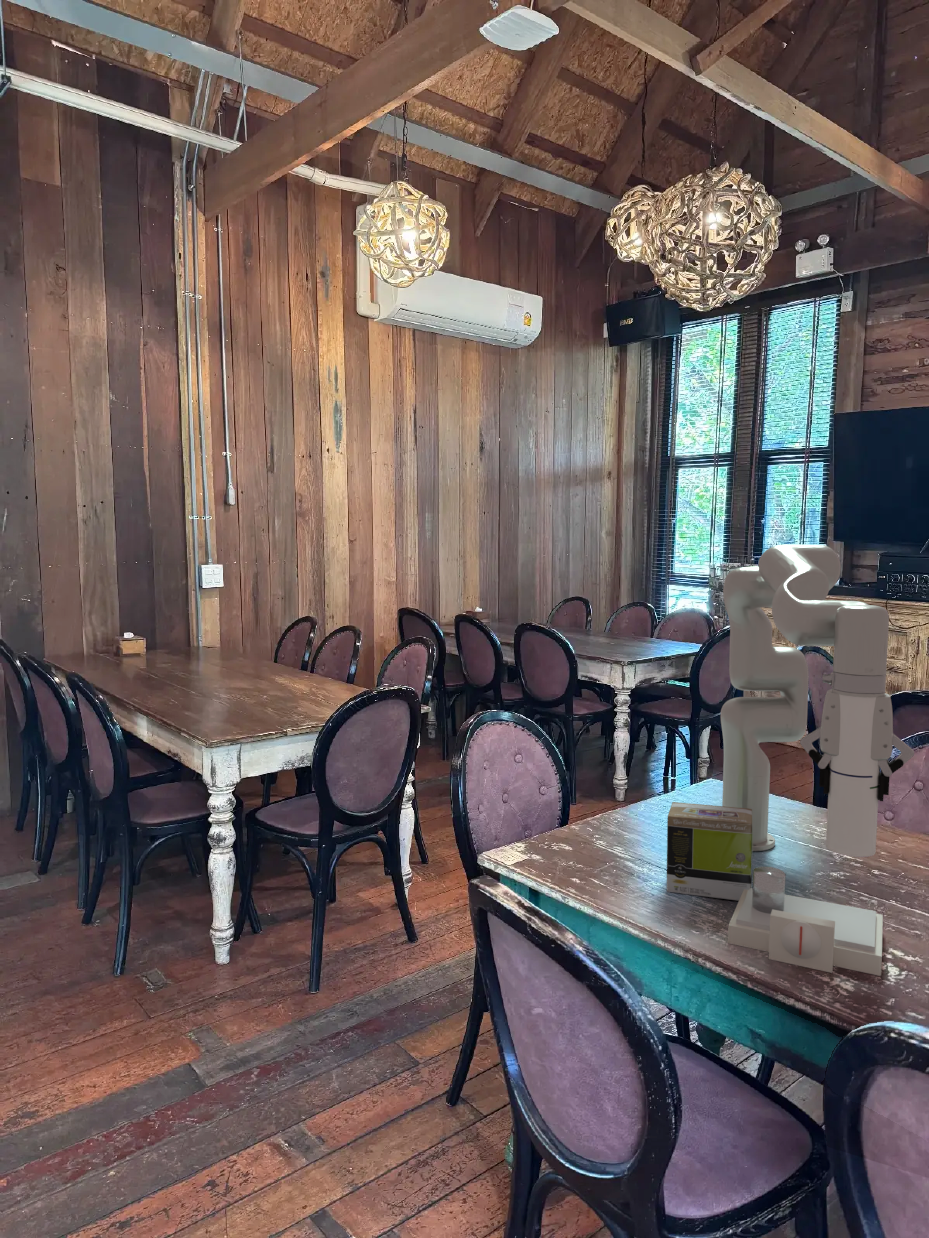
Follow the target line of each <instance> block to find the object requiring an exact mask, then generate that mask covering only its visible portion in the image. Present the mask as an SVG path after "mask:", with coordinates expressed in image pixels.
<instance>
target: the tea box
mask: <svg viewBox="0 0 929 1238" xmlns="http://www.w3.org/2000/svg"><path fill="white" fill-rule="evenodd" d="M667 814H668V815H667V822H666V823H667V824H666V825H667V826H666V829H667V831H666V832H667V833H666V835H667V836H666V838H667V839H666V840H667V841H666V892H668V893H674V894H675V893H676V894H683V895H689V896H690V895H691V896H699V897H707V898H708V897H709V898H714V899H722V900H723V899H724V900H730V901H738V902H739V900H740V897H741V895H742V893H743V891H744V889H746V890H749V888H752V887H753V851H752V835H753V834H752V809H748V808H736V807H725V806H722V805H711V804H699V803H688V802H678V801H677V802H676V801H672V802H671V805H670V808H669V812H668V813H667Z"/></svg>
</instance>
